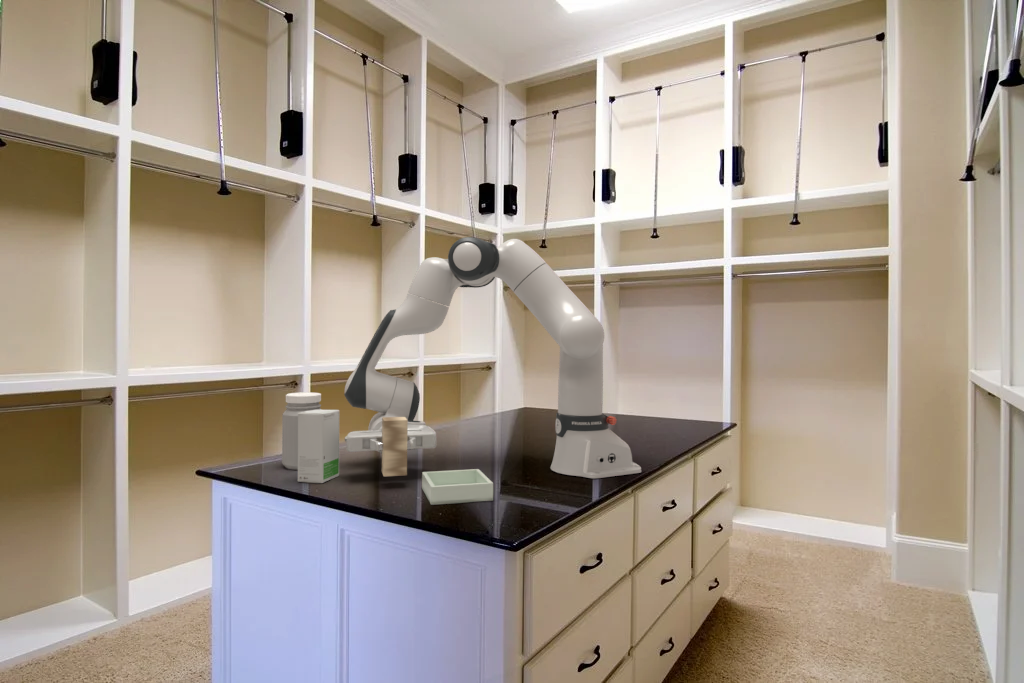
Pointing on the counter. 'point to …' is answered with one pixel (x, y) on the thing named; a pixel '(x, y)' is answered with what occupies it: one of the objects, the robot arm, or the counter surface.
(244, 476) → the counter surface
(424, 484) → the dish
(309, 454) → the skincare box
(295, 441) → the jar
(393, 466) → the oak block
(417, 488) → the counter surface
